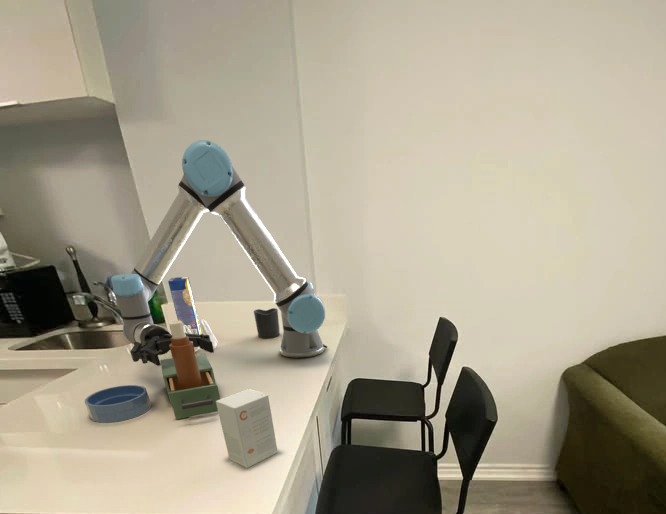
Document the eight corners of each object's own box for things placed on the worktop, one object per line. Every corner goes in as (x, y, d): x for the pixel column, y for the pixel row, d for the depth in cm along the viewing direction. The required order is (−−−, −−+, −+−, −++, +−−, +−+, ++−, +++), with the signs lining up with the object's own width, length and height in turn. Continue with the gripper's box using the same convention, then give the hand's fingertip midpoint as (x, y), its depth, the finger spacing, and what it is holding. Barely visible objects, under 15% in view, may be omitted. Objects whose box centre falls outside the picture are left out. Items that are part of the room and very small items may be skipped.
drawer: (225, 416, 105) (219, 390, 101) (177, 426, 101) (169, 399, 97) (214, 392, 119) (209, 368, 116) (172, 399, 115) (165, 375, 112)
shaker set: (218, 346, 164) (212, 316, 158) (219, 349, 160) (213, 319, 154) (185, 351, 160) (178, 320, 154) (186, 354, 157) (178, 323, 151)
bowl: (162, 402, 116) (157, 385, 114) (131, 425, 104) (124, 406, 102) (114, 401, 118) (108, 384, 116) (79, 424, 106) (71, 405, 103)
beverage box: (200, 330, 187) (188, 276, 176) (199, 336, 178) (186, 280, 167) (184, 332, 186) (170, 277, 174) (182, 338, 176) (168, 281, 165)
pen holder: (270, 339, 170) (266, 313, 165) (252, 337, 174) (248, 311, 169) (285, 334, 177) (282, 308, 171) (268, 332, 181) (264, 307, 176)
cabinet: (218, 397, 118) (212, 367, 114) (171, 405, 114) (162, 375, 110) (211, 380, 130) (205, 353, 126) (168, 387, 126) (160, 359, 122)
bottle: (209, 397, 113) (191, 319, 103) (200, 405, 108) (180, 325, 98) (190, 397, 114) (170, 319, 103) (180, 405, 109) (158, 325, 99)
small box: (259, 444, 93) (249, 387, 86) (278, 452, 89) (269, 394, 83) (228, 459, 88) (214, 400, 81) (247, 469, 84) (234, 408, 78)
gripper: (200, 343, 127) (234, 356, 113) (110, 362, 113) (137, 381, 99) (194, 316, 123) (229, 328, 109) (100, 334, 109) (127, 349, 95)
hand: (185, 353), depth 104 cm, fingers open, 13 cm apart
